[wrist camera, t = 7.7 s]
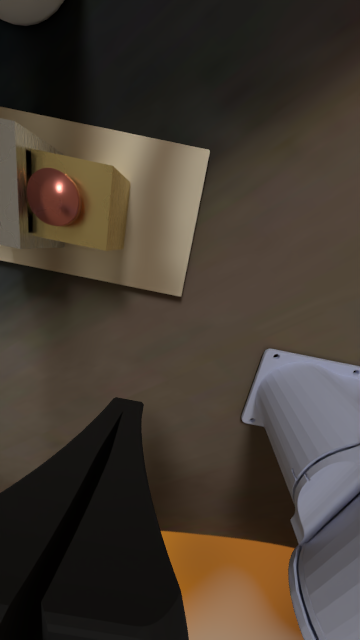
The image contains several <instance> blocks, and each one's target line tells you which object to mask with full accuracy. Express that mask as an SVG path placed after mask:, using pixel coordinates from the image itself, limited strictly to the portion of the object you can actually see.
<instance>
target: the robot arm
mask: <svg viewBox="0 0 360 640" xmlns="http://www.w3.org/2000/svg"><path fill="white" fill-rule="evenodd" d="M275 354H278V356H277V357H273V356H274V355H275ZM355 370H356V372H354V371H355ZM353 372H354V373H353ZM143 406H144V404H143V403H142V402H138V401H133V400H128V399H122V398H117V397H116V398H114V399H113V400H112V401H111V402H110V403H109V404H108V406H107V407H106V408H105V409H104V410H103V411H102V412H101V413H100V414H99V415H98V416H97V417H96V418H95V419H94V420H93V421H92V422H91V423H90V424H89V425H88V426H87V427H86V428H85V429H84V430H83V431H82V432H81V433H80V434H78V435H77V436H76V437H75V438H74V439H73V440H72V441H70V442H69V443H68V444H67V445H66V446H65V447H63V448H62V449H61V450H60V451H59V452H57V453H56V454H55V455H54V456H52V457H51V458H50V459H48V460H47V461H46V462H44V463H43V464H42V465H41V466H39V467H38V468H36V469H35V470H34V471H32V472H31V473H29V474H28V475H26V476H25V477H24V478H22V479H21V480H19V481H18V482H16V483H15V484H13V485H12V486H10V487H9V488H7V489H6V490H4V491H3V492H1V493H0V640H189V638H188V630H187V623H186V617H185V612H184V606H183V601H182V595H181V590H180V587H179V584H178V581H177V579H176V576H175V573H174V571H173V568H172V565H171V562H170V559H169V557H168V553H167V550H166V547H165V544H164V541H163V538H162V535H161V531H160V528H159V524H158V521H157V517H156V513H155V510H154V506H153V502H152V498H151V494H150V489H149V485H148V480H147V475H146V469H145V463H144V455H143V446H142V433H141V418H142V412H143ZM241 418H242V421H243V422H244V423H247V424H252V425H257V426H262V427H265V430H266V432H267V435H268V438H269V440H270V443H271V445H272V448H273V451H274V453H275V456H276V458H277V461H278V464H279V466H280V469H281V471H282V474H283V477H284V479H285V482H286V484H287V487H288V490H289V492H290V495H291V497H292V500H293V503H294V505H295V514H294V516H293V517H292V518H291V520H290V521H291V524H292V526H293V529H294V532H295V535H296V538H297V541H298V544H299V545H298V546H297V547H296V548H295V549H294V551H293V552H292V555H291V558H290V562H289V569H288V572H289V573H288V574H289V588H290V595H291V599H292V603H293V608H294V612H295V615H296V618H297V621H298V625H299V628H300V630H301V633H302V635H303V638H304V640H360V366H355V365H350V364H345V363H340V362H335V361H330V360H325V359H320V358H315V357H310V356H305V355H300V354H295V353H290V352H285V351H280V350H275V349H267V350H265V352H264V354H263V356H262V359H261V362H260V365H259V368H258V371H257V373H256V376H255V379H254V382H253V385H252V387H251V390H250V393H249V396H248V399H247V402H246V404H245V407H244V410H243V413H242V416H241ZM251 418H254V419H252V420H250V419H251Z"/></svg>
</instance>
